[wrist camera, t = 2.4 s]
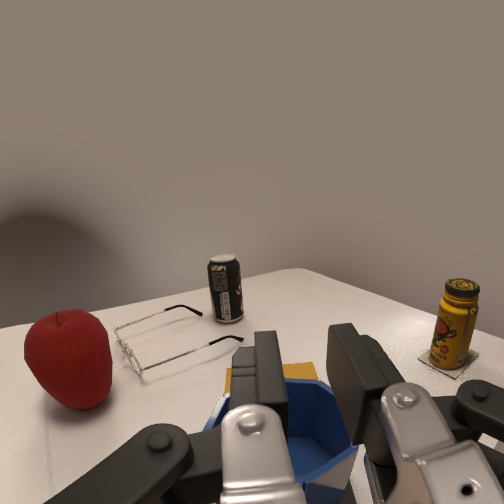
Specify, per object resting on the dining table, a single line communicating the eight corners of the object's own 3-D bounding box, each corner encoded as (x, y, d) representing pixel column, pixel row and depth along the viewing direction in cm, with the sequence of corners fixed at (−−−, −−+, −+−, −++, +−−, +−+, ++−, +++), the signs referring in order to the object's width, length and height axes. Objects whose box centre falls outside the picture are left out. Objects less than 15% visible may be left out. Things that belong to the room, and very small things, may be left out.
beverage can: (233, 308, 60) (228, 250, 57) (249, 318, 55) (245, 256, 52) (208, 317, 57) (200, 256, 54) (223, 328, 52) (216, 263, 49)
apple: (102, 365, 40) (79, 286, 37) (143, 398, 34) (116, 307, 30) (40, 395, 31) (6, 313, 28) (69, 441, 24) (21, 346, 21)
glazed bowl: (367, 479, 20) (388, 424, 18) (263, 546, 14) (258, 510, 12) (295, 421, 29) (296, 363, 27) (202, 463, 24) (184, 407, 22)
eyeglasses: (111, 343, 47) (103, 318, 46) (199, 313, 59) (195, 289, 57) (141, 391, 35) (131, 361, 34) (249, 344, 46) (247, 316, 45)
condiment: (417, 359, 37) (431, 282, 34) (445, 338, 40) (458, 269, 37) (454, 380, 30) (477, 298, 27) (479, 354, 34) (497, 281, 31)
